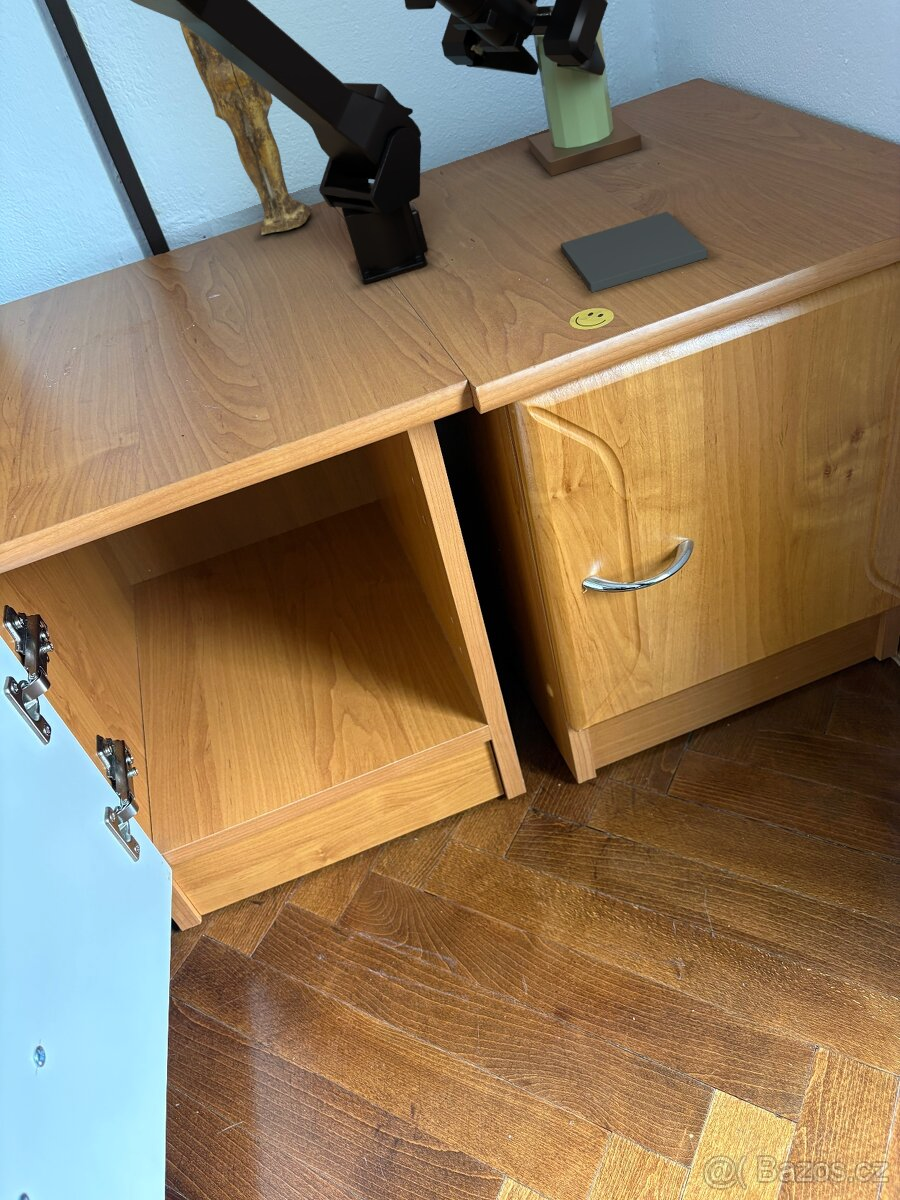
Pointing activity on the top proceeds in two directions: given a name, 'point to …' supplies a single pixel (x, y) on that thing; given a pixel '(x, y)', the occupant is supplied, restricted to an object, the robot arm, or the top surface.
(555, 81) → the green faceted tube
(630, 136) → the stand
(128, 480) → the top surface
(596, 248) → the mat
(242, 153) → the sculpture
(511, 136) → the top surface
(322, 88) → the robot arm
